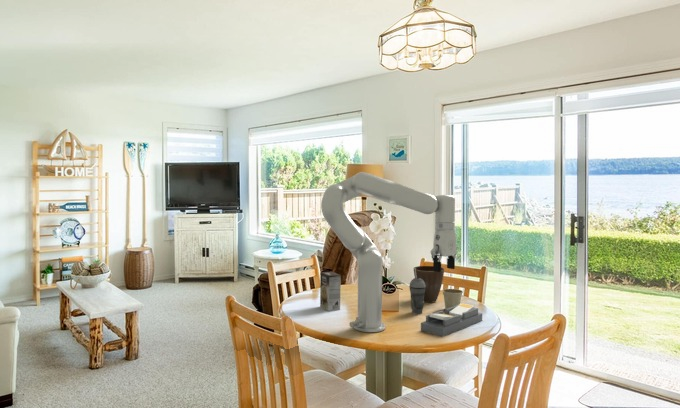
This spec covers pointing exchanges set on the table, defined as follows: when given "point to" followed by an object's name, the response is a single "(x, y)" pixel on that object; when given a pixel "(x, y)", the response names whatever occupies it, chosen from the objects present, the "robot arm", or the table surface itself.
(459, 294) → the flower pot
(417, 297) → the beverage cup
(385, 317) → the table surface
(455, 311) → the outer rocker
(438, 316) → the inner rocker
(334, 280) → the coffee box
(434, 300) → the plant pot
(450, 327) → the switch panel
